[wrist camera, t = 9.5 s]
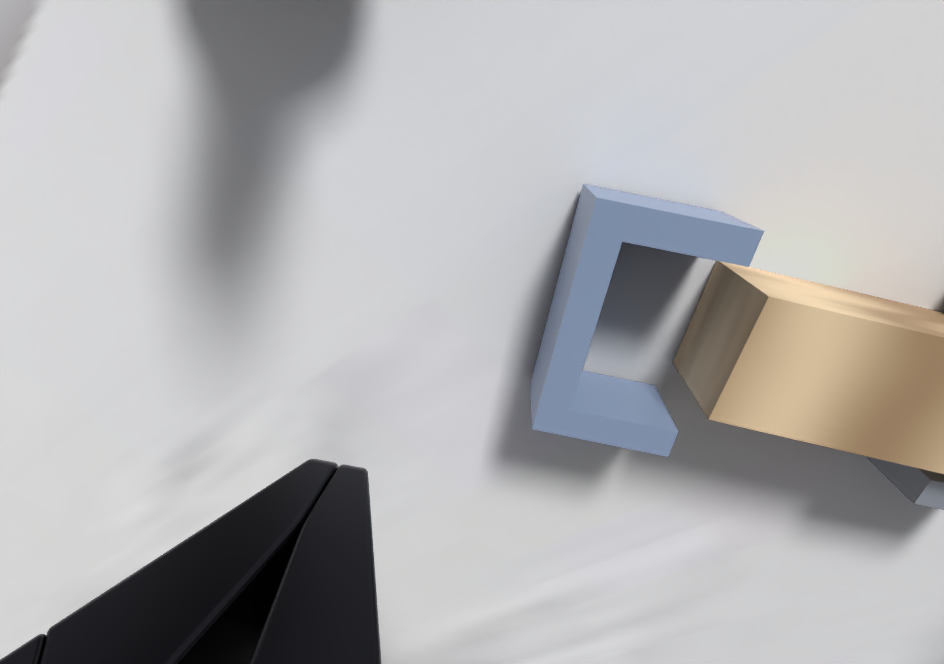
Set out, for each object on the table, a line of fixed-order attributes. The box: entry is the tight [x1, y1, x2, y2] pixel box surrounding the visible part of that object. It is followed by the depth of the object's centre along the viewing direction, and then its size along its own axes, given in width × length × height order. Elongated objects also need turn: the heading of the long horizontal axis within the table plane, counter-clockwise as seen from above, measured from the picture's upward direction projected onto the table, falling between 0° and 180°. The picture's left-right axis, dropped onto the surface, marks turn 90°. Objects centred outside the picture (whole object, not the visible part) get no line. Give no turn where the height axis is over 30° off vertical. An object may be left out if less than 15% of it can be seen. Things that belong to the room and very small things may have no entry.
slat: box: [673, 261, 944, 474], centre depth 16 cm, size 10×4×4 cm, turn 77°
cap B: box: [530, 184, 764, 457], centre depth 16 cm, size 4×8×3 cm, turn 169°
